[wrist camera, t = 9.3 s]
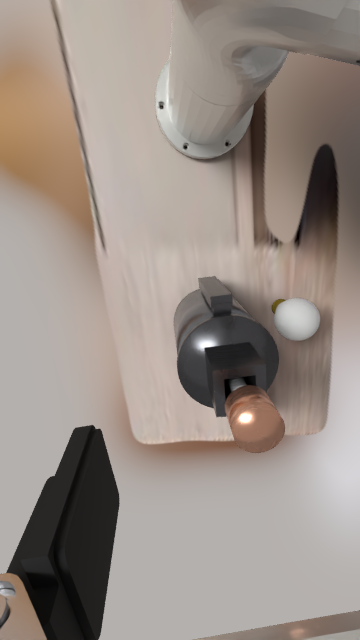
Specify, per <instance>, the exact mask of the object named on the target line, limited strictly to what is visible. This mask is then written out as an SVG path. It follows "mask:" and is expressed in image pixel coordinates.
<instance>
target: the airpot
mask: <svg viewBox="0 0 360 640" xmlns="http://www.w3.org/2000/svg"><path fill="white" fill-rule="evenodd" d="M198 279H199V288H200V289H199V290H196V291H194V292H192V293H190V294H188V295H187V296H186V297H185V298H184V299H183V300H182V301H181V302H180V304H179V305H178V307H177V309H176V312H175V315H174V331H175V339H176V347H177V355H178V357H177V369H178V375H179V379H180V382H181V384H182V386H183V388H184V389H185V391H186V392H187V393H188V394H189V395H190V396H191V397H192V398H193V399H194V400H196V401H197V402H199V403H200V404H203V405H205V406H207V407H211V408H214V410H215V414H216V417H220V416H221V417H226V413H225V402H226V399H227V397H228V396H229V395H230V393H231V392H232V391H231V389H230V387H229V384H228V382H227V379H230V378H238V377H243V379H244V380H245V382H246V384H247V385H253V386H257V387H259V388H261V389H263V390H264V391H265V392H266V393H267V389H268V388H269V386H270V385H271V383H272V382H273V380H274V378H275V376H276V373H277V369H278V363H279V356H278V350H277V346H276V344H275V341H274V339H273V338H272V336H271V335H270V333H269V332H268V331H267V330H266V329H265V328H264V327H263V326H262V325H261V324H260V323H258V322H257V321H255V320H254V319H253V318H252V317H251V316H250V314H249V313H248V312H247V311H246V310H245V309H244V308H243V307H242V306H241V305H240V304H239V303H238V302H237V301H236V299H235V298H234V297H232V293H231V292H230V291H229V290H228V289H227V288H226V287H225V286H224V285H223V284H222V283H221V282H220V281H219V280H218V279H217V278H216V277H215V276H213V277H205V278H198Z"/></svg>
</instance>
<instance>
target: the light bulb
mask: <svg viewBox="0 0 360 640" xmlns="http://www.w3.org/2000/svg"><path fill="white" fill-rule="evenodd" d="M272 311H273V313H274V314H275V316H274V323H275V326H276V329H277V330H278V332H279V333H280V334H281V335H282V336H283V337H285V338H287V339H289V340H293V341H301V340H305V339H308V338H309V337H311V336H312V335H313V334H314V333H315V332H316V331H317V329H318V327H319V324H320V314H319V311H318V309H317V308H316V306H315V305H314V304H313V303H312V302H310V301H308V300H306V299H303V298H291V299H288V300H284V299H278V300H276V301H275V302H274V303H273V305H272Z"/></svg>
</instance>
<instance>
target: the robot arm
mask: <svg viewBox="0 0 360 640" xmlns="http://www.w3.org/2000/svg"><path fill="white" fill-rule="evenodd" d="M289 51H291V52H295V53H300V54H310V55H315V56H319V57H324V58H328V59H333V60H337V61H341V62H345V63H350V64H354V65H358V66H360V0H172V25H171V43H170V59H169V60H168V61H167V63H166V64H165V65H164V67H163V69H162V71H161V73H160V75H159V78H158V82H157V85H156V92H155V110H156V117H157V120H158V123H159V126H160V128H161V130H162V132H163V134H164V136H165V138H166V139H167V140H168V142H169V143H170V144H171V145H172V146H173V147H174V148H175V149H176V150H178V151H179V152H181V153H183V154H184V155H186V156H189V157H192V158H197V159H211V158H215V157H218V156H221V155H222V154H224V153H226V152H228V151H229V150H230V149H232V148H233V147H234V146H235V145H236V144H237V143H238V142H239V141H240V140H241V138H242V137H243V135H244V134H245V133H246V130H247V128H248V126H249V124H250V121H251V118H252V114H253V108H254V103H255V102H256V101H257V99H258V98H259V97H260V96H261V94H262V93H263V92H264V91H265V89H266V88H267V87H268V86H269V85H270V83H271V82H272V80H273V79H274V78H275V77H276V75H277V74H278V72H279V71H280V69H281V67H282V66H283V64H284V62H285V60H286V58H287V55H288V53H289ZM160 106H163V109H160V108H159V107H160ZM225 143H228V146H225ZM184 146H187V149H186V150H185V149H184ZM118 510H119V493H118V489H117V485H116V481H115V478H114V474H113V471H112V468H111V464H110V460H109V456H108V453H107V449H106V446H105V442H104V438H103V434H102V431H101V429H95V427H94V426H93V425H90V426H85V427H78V428H75V429H74V430H73V433H72V435H71V437H70V440H69V442H68V445H67V447H66V450H65V452H64V454H63V457H62V459H61V462H60V464H59V467H58V469H57V472H56V474H55V476H52V477H50V478H49V479H48V480H47V481H46V483H45V485H44V488H43V490H42V492H41V495H40V497H39V499H38V501H37V504H36V506H35V508H34V511H33V513H32V515H31V517H30V520H29V522H28V524H27V526H26V529H25V531H24V533H23V536H22V538H21V540H20V543H19V545H18V547H17V549H16V552H15V554H14V556H13V559H12V561H11V563H10V566H9V568H8V570H7V573H3V574H0V640H98V639H99V637H100V633H101V628H102V620H103V614H104V607H105V600H106V593H107V586H108V579H109V572H110V565H111V558H112V551H113V544H114V537H115V530H116V523H117V516H118ZM194 640H360V610H359V611H353V612H348V613H342V614H336V615H330V616H325V617H319V618H314V619H307V620H302V621H296V622H290V623H284V624H279V625H273V626H267V627H262V628H256V629H251V630H246V631H239V632H234V633H228V634H223V635H218V636H211V637H206V638H200V639H194Z"/></svg>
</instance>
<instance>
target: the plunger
mask: <svg viewBox="0 0 360 640" xmlns="http://www.w3.org/2000/svg"><path fill="white" fill-rule="evenodd" d="M227 382H228V384H229V387H230V389H231V391H232V392H231V393H230V395H229V396H228V397H227V399H226V402H225V413H226V416H227V419H228V422H229V424H230V427H231V430H232V433H233V436H234V439H235V442H236V443H237V445H238V446H239V447H240V448H242V449H243V450H245V451H248V452H252V453H261V452H265V451H268V450H270V449H272V448H274V447H275V446H276V445H277V444H278V443H279V442H280V441H281V439H282V438H283V436H284V432H285V424H284V421H283V419H282V418H281V416H280V414H279V413H278V411H277V409H276V408H275V406H274V405H273V403H272V401H271V400H270V398H269V396H268V395H267V393H266V392H265V391H264V390H263V389H261V388H259V387H257V386H253V385H247V384H246V382H245V380H244V379H243V377H238V378H230V379H227Z"/></svg>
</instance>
